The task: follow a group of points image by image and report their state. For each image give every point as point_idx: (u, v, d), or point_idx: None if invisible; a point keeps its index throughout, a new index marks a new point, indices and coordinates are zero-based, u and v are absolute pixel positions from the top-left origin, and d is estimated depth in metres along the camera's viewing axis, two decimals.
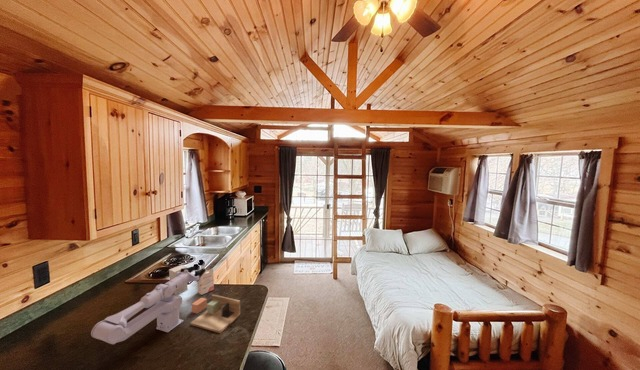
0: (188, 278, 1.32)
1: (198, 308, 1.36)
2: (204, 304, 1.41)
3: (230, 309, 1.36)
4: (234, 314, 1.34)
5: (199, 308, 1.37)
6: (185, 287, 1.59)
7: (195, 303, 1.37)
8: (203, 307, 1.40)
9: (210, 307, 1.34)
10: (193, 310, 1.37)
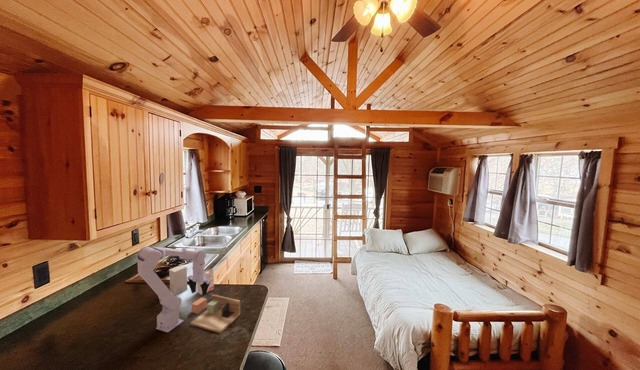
0: (203, 276, 1.37)
1: (198, 308, 1.36)
2: (204, 304, 1.41)
3: (230, 309, 1.36)
4: (234, 314, 1.34)
5: (199, 308, 1.37)
6: (185, 287, 1.59)
7: (195, 303, 1.37)
8: (203, 307, 1.40)
9: (210, 307, 1.34)
10: (193, 310, 1.37)
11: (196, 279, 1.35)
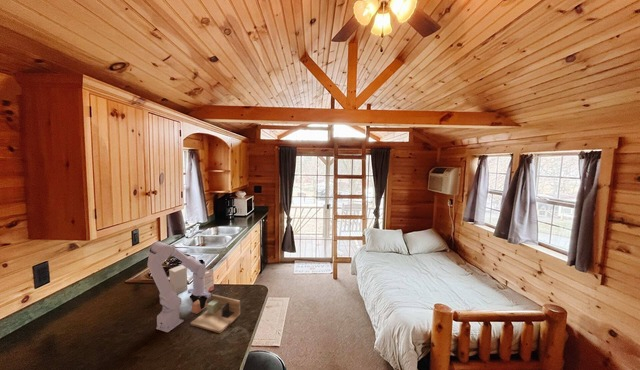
0: (203, 290, 1.38)
1: (198, 308, 1.36)
2: None
3: (230, 309, 1.36)
4: (234, 314, 1.34)
5: (199, 308, 1.37)
6: (185, 287, 1.59)
7: (195, 303, 1.37)
8: None
9: (210, 307, 1.34)
10: (193, 310, 1.37)
11: (196, 293, 1.36)
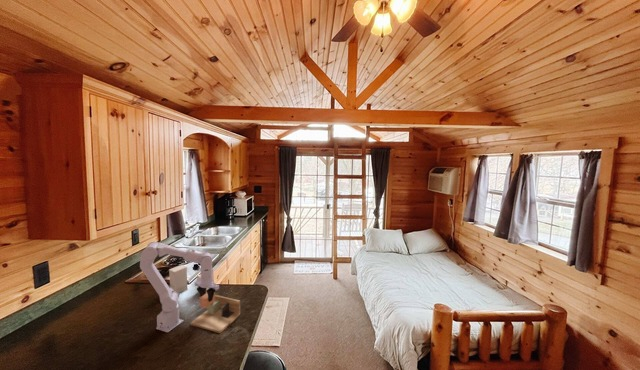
0: (211, 282, 1.31)
1: (206, 302, 1.30)
2: (213, 298, 1.34)
3: (230, 309, 1.36)
4: (234, 314, 1.34)
5: (208, 302, 1.31)
6: (185, 287, 1.59)
7: (203, 297, 1.31)
8: (211, 301, 1.33)
9: (210, 307, 1.34)
10: (201, 305, 1.30)
11: (204, 285, 1.29)
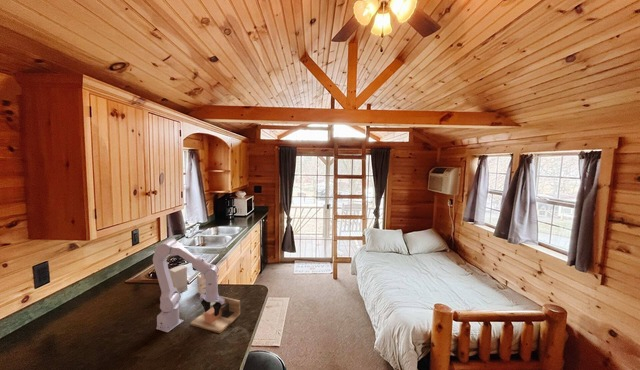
0: (216, 296, 1.28)
1: (212, 317, 1.26)
2: None
3: (230, 309, 1.36)
4: (234, 314, 1.34)
5: (213, 318, 1.27)
6: (185, 287, 1.59)
7: (208, 312, 1.27)
8: (217, 316, 1.30)
9: (210, 307, 1.34)
10: (206, 320, 1.27)
11: (209, 299, 1.26)
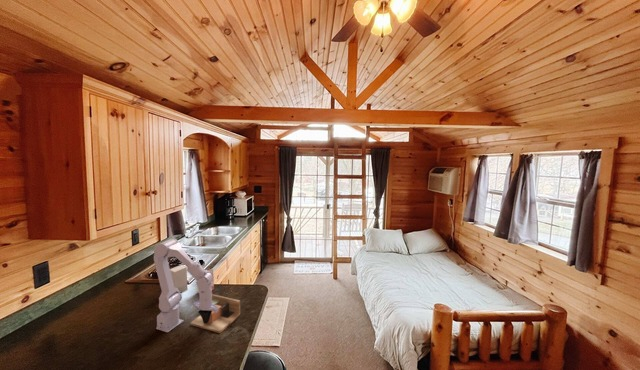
0: (210, 304, 1.24)
1: (213, 316, 1.27)
2: (219, 312, 1.31)
3: (230, 309, 1.36)
4: (234, 314, 1.34)
5: (214, 317, 1.28)
6: (185, 287, 1.59)
7: None
8: (218, 315, 1.31)
9: None
10: None
11: (203, 307, 1.22)
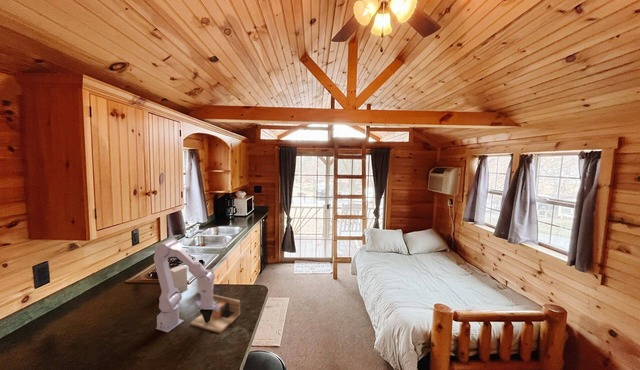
0: (211, 303, 1.25)
1: (219, 312, 1.31)
2: None
3: (230, 309, 1.36)
4: (234, 314, 1.34)
5: (220, 312, 1.32)
6: (185, 287, 1.59)
7: None
8: None
9: None
10: (213, 314, 1.31)
11: (204, 306, 1.22)
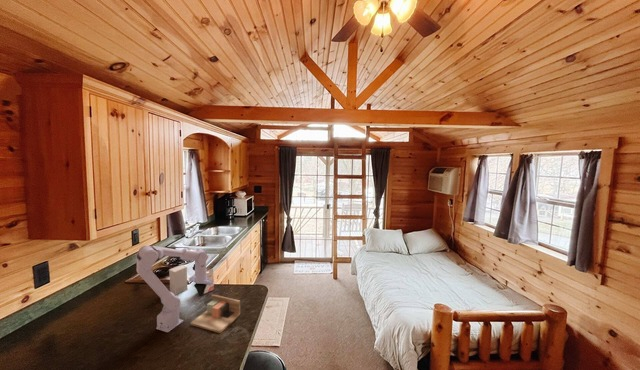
0: (205, 278, 1.36)
1: (219, 312, 1.31)
2: None
3: (230, 309, 1.36)
4: (234, 314, 1.34)
5: (220, 312, 1.32)
6: (185, 287, 1.59)
7: (215, 307, 1.32)
8: None
9: (210, 307, 1.34)
10: (213, 314, 1.31)
11: (198, 281, 1.34)
